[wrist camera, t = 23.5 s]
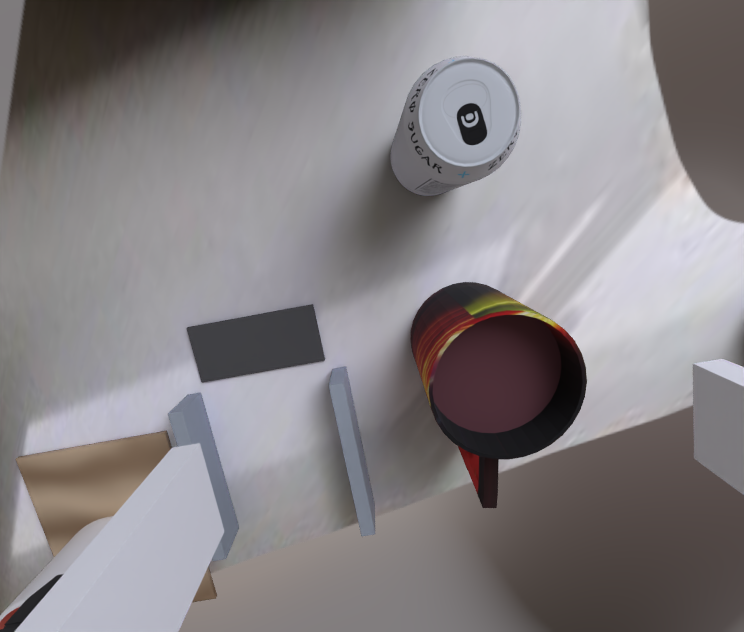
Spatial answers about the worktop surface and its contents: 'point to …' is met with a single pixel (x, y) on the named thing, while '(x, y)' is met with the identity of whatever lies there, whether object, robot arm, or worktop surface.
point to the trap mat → (256, 343)
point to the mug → (495, 377)
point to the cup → (57, 565)
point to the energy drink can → (455, 126)
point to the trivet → (93, 486)
